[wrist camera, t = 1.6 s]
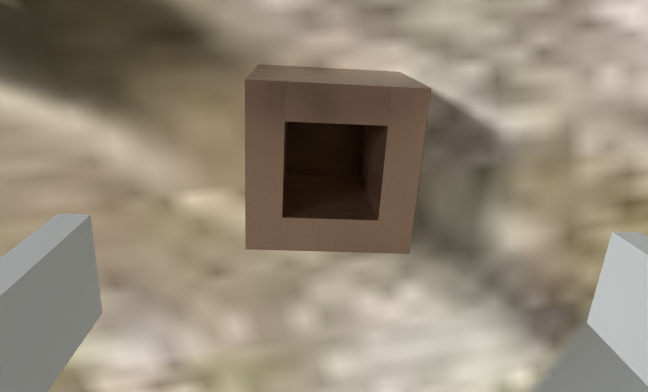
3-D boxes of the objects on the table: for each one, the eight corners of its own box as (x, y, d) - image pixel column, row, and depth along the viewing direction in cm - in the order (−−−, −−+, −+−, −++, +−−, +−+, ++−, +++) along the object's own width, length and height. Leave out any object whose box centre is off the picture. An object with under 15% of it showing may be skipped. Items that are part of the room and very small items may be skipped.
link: (258, 64, 23) (245, 79, 18) (399, 72, 24) (431, 88, 18) (257, 198, 26) (245, 249, 20) (385, 202, 26) (409, 253, 20)
